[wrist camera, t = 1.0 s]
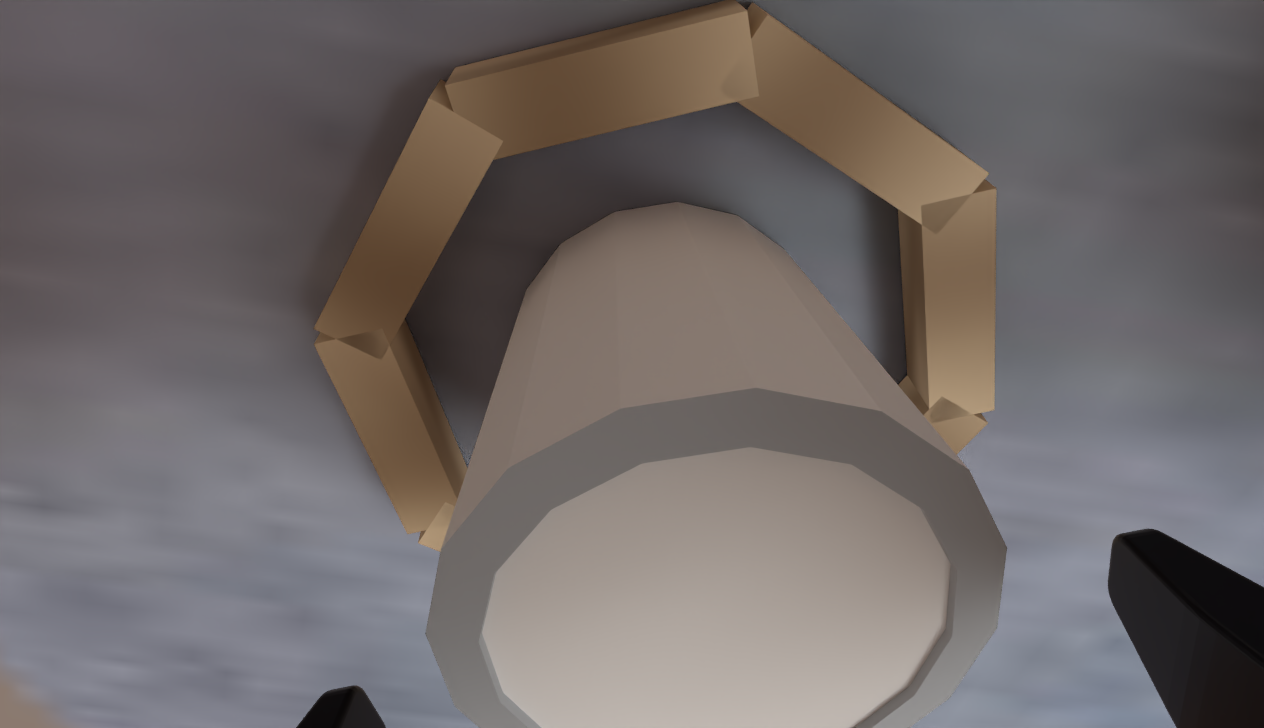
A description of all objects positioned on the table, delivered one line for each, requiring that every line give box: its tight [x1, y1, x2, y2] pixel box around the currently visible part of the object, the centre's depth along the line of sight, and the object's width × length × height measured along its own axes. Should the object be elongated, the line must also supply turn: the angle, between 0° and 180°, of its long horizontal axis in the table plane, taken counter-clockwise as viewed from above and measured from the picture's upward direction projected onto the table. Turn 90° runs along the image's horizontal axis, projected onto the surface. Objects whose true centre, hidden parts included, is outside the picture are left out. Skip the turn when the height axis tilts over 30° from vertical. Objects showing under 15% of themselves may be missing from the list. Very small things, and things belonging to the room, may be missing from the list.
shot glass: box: [426, 202, 1007, 728], centre depth 13 cm, size 7×7×7 cm
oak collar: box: [314, 0, 996, 552], centre depth 15 cm, size 11×11×1 cm
